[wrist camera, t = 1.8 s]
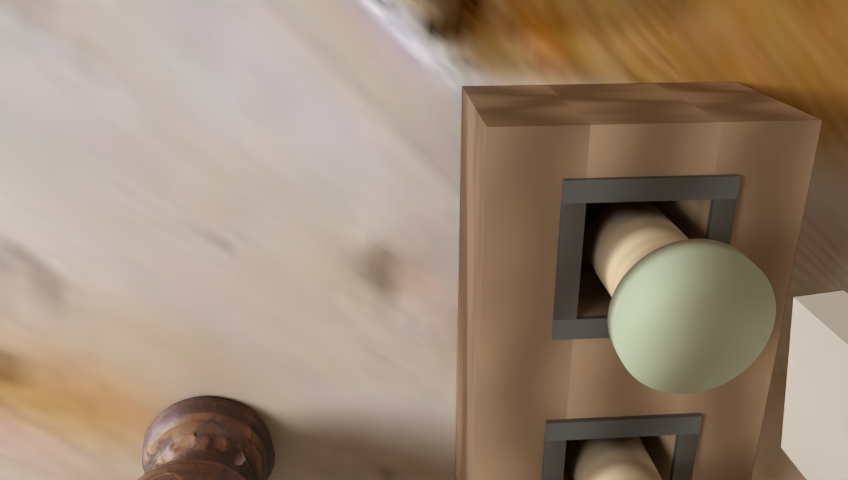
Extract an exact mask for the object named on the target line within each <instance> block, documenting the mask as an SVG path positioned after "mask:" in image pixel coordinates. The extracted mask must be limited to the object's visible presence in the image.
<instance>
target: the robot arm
mask: <svg viewBox="0 0 848 480" xmlns="http://www.w3.org/2000/svg"><path fill="white" fill-rule="evenodd" d="M781 448H782V449H783V451H784V452H785V453H786V455H787V456H788V457H789V458H790V460H791V461H792V462H793V463H794V465H795V466H796V467H797V468H798V470H799V471H800V472H801V473H802V475H803V476H804V477H805V479H806V480H848V293H847V292H845V291H844V290H842V291H835V292H827V293H820V294H813V295H805V296H798V297H793V309H792V321H791V333H790V345H789V357H788V369H787V381H786V393H785V405H784V417H783V429H782V442H781Z"/></svg>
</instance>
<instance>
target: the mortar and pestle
mask: <svg viewBox="0 0 848 480" xmlns="http://www.w3.org/2000/svg"><path fill="white" fill-rule="evenodd" d="M274 455H275V454H274V449H273V445H272V441H271V437H270V434H269V432H268V430H267V428H266V426H265V424H264V423H263V422H262V421H261V419H260V418H259V417H258V415H257V414H256V413H255V412H253V411H252V410H251V409H249V408H247V407H246V406H244V405H241V404H238V403H236V402H233V401H230V400H226V399H219V398H211V397H195V398H190V399H185V400H182V401H180V402H177V403H175V404H173V405H171V406H170V407H168V408H167V409H166V410H164V411H163V412H162V413H161V414H160V415H159V416H158V417H157V418H156V419H155V420H154V421H153V422H152V424H151V425H150V426H149V427H148V429H147V431H146V433H145V437H144V444H143V452H142V465H143V469H144V471H145V474H144V475H143V476H142V477H141V478H139V479H138V480H268V477H269V476H270V474H271V471H272V469H273V466H274Z"/></svg>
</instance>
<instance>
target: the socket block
mask: <svg viewBox="0 0 848 480" xmlns="http://www.w3.org/2000/svg"><path fill="white" fill-rule="evenodd" d="M821 124H822V120H821V119H818V118H816V117H814V116H812V115H809V114H807V113H805V112H803V111H801V110H798V109H796V108H794V107H792V106H789V105H787V104H785V103H783V102H780V101H778V100H776V99H774V98H771V97H769V96H767V95H765V94H763V93H760V92H758V91H756V90H754V89H751V88H749V87H747V86H745V85H742V84H740V83H738V82H694V83H634V84H575V85H516V86H462V126H461V182H460V238H459V294H458V350H457V406H456V462H455V479H456V480H573V479H572V477H571V474H570V471H569V469H568V466H567V462H566V454H567V450H568V447H569V445H570V443H571V442H572V440H582V439H602V438H622V437H639V438H640V440H641V441H642V443H643V445H644V447H645V449H646V451H647V453H648V454H649V456H650V458H651V460H652V462H653V464H654V466H655V468H656V469H657V471H658V473H659V475H660V477H661V479H662V480H751V477H752V472H753V467H754V462H755V457H756V452H757V447H758V442H759V437H760V432H761V427H762V421H763V416H764V411H765V406H766V401H767V396H768V391H769V386H770V381H771V376H772V371H773V366H774V361H775V356H776V351H777V346H778V341H779V336H780V331H781V326H782V320H783V315H784V310H785V305H786V300H787V295H788V290H789V285H790V280H791V275H792V270H793V265H794V260H795V255H796V250H797V245H798V240H799V235H800V230H801V225H802V219H803V214H804V209H805V204H806V199H807V194H808V189H809V184H810V179H811V174H812V169H813V164H814V159H815V154H816V149H817V144H818V139H819V134H820V129H821ZM642 201H645V202H648V203H650V204H652V205H654V206H655V207H657V208H658V209H659V210H660V211H661V212H662V213H663V214H664V215H665V216H666V217H667V218H668V219H669V220H670V221H671V222H672V223H673V224H674V225H675V226H676V227H677V228H678V229H679V230H680V231H681V232H682V233H683V234H684V235H685V236H686V237H687V238H688V239H710V240H716V241H719V242H723V243H726V244H728V245H730V246H732V247H734V248H736V249H737V250H739V251H740V252H742V253H743V254H744V255H745V256H746V257H747V258H749V259H750V260H751V261H752V262H753V263H754V264H755V265H756V266H757V267H758V268H760V269H761V270H762V272H763V273H764V274H765V276H766V277H767V278H768V280H769V282H770V284H771V286H772V289H773V292H774V296H775V301H776V316H775V323H774V327H773V330H772V333H771V335H770V338H769V340H768V342H767V344H766V346H765V347H764V349H763V350H762V352H761V353H760V355H759V356H758V357H757V358H756V360H755V361H754V362H753V363H752V364H751V365H750V366H749V367H748V368H747V369H745V370H744V371H743V372H742V373H741V374H739V375H738V376H736V377H735V378H733V379H732V380H730V381H728V382H726V383H725V384H722V385H720V386H718V387H716V388H713V389H710V390H707V391H702V392H698V393H690V394H673V393H665V392H662V391H658V390H655V389H652V388H650V387H648V386H646V385H644V384H642V383H641V382H639V381H638V380H637V379H636V378H634V377H633V376H632V375H631V374H630V373H629V371H628V370H627V369H626V367H625V366H624V364H623V363H622V361H621V360H620V358H619V356H618V354H617V353H616V351H615V349H614V347H613V345H612V343H611V340H610V337H609V333H608V326H607V317H608V309H609V304H610V301H611V298H612V297H611V295H610V294H609V292H608V291H607V289H606V288H605V286H604V285H603V283H602V282H601V280H600V279H599V277H598V276H597V274H596V273H595V271H594V270H593V268H592V267H591V265H590V264H589V262H588V260H587V258H586V255H585V250H584V245H583V237H584V225H585V213H586V203H606V202H642Z"/></svg>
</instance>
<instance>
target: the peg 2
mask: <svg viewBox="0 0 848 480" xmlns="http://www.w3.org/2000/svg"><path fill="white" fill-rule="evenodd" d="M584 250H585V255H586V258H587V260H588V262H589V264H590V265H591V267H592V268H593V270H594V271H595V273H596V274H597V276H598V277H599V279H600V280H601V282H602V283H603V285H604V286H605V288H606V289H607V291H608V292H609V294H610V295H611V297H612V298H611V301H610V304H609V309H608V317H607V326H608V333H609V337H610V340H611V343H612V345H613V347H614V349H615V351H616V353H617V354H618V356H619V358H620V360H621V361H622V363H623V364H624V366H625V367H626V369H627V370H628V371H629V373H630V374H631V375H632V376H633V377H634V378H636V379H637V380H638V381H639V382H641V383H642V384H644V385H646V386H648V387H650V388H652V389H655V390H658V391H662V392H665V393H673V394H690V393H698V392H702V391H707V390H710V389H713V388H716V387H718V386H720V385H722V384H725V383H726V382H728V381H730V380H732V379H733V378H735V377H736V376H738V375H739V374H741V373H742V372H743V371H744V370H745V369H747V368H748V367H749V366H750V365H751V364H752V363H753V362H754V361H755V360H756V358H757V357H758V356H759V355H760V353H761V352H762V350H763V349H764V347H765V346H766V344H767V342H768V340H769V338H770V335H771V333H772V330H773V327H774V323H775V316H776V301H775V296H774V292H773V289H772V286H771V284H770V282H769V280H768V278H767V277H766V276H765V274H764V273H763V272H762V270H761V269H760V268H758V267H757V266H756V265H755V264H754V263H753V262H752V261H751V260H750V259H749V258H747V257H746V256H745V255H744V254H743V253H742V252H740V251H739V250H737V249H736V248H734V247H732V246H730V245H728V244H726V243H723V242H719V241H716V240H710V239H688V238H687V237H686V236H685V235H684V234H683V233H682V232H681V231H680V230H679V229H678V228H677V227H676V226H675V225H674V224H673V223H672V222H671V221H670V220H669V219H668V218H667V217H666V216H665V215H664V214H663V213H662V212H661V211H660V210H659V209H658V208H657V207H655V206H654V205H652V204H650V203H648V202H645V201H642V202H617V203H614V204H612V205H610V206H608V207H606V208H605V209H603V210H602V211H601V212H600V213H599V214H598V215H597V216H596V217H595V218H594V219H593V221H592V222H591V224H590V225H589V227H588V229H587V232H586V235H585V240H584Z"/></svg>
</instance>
